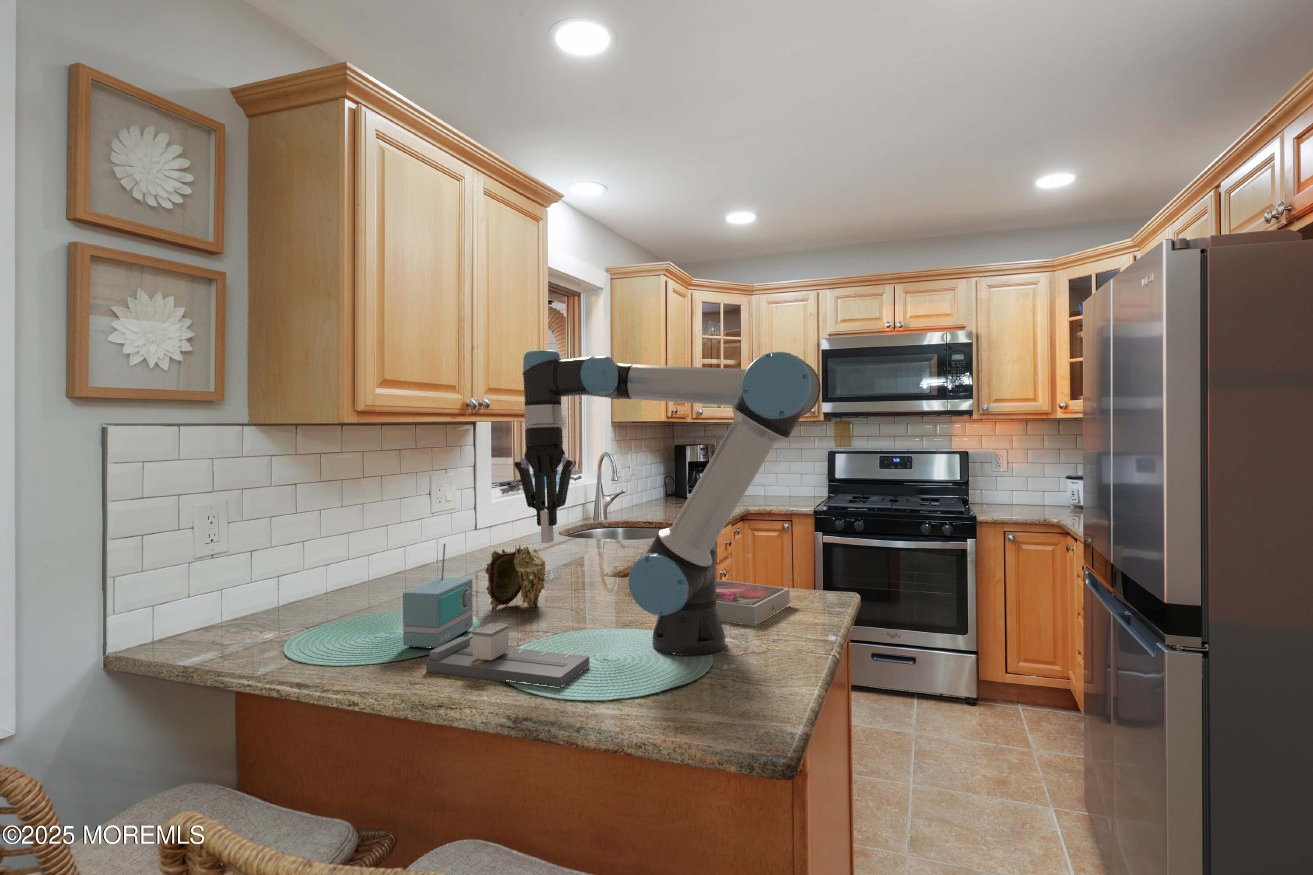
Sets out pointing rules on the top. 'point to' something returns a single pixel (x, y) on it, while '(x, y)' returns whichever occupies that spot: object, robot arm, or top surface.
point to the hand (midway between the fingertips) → (547, 541)
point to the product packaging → (748, 601)
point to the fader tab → (490, 641)
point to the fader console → (506, 664)
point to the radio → (437, 611)
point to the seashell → (515, 576)
